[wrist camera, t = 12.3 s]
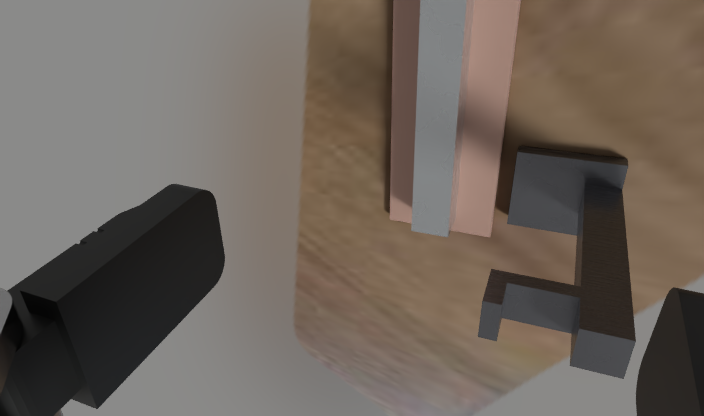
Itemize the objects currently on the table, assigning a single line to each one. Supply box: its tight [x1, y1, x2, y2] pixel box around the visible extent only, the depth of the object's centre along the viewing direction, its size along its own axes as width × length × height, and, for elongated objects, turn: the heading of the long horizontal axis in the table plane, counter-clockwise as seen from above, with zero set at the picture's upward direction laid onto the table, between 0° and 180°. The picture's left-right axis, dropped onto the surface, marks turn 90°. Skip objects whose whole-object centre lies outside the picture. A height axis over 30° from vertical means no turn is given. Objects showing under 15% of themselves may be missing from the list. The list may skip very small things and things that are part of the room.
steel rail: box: [411, 0, 475, 237], centre depth 30 cm, size 24×2×2 cm, turn 1°
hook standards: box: [478, 146, 636, 379], centre depth 23 cm, size 23×6×14 cm, turn 1°
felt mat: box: [390, 0, 521, 237], centre depth 31 cm, size 26×7×1 cm, turn 1°
